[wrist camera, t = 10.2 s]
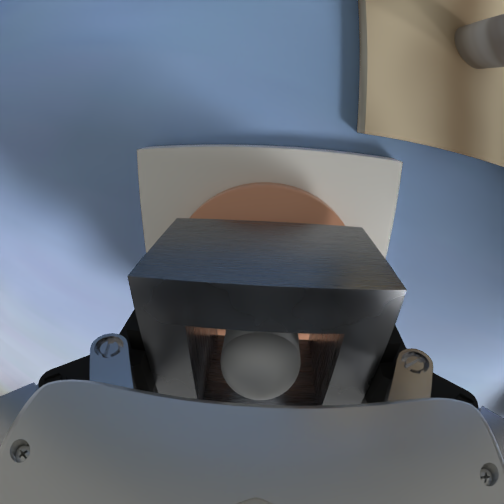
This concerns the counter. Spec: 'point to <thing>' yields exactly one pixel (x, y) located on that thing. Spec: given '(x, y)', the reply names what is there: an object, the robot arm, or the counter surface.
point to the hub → (266, 209)
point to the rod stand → (434, 74)
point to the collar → (265, 305)
